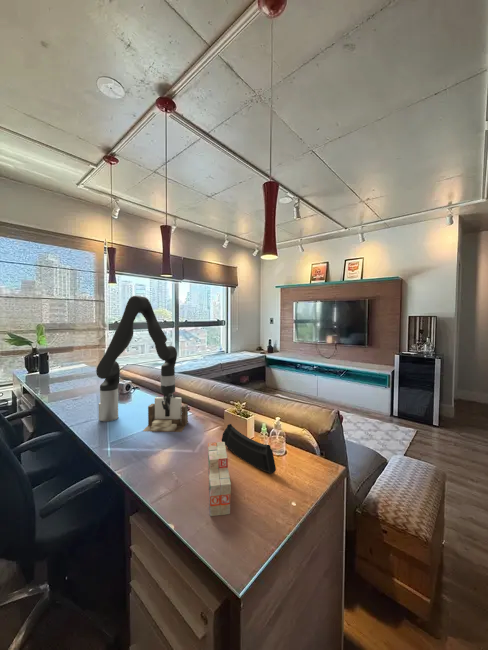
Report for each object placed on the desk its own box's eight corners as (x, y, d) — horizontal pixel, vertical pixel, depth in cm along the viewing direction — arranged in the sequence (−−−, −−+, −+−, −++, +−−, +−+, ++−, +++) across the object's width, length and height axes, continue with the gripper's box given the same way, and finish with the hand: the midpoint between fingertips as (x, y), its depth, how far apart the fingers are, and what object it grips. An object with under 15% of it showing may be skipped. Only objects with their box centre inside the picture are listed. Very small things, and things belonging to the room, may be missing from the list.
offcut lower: (150, 430, 136) (150, 426, 136) (153, 427, 140) (153, 423, 140) (174, 430, 135) (174, 427, 135) (176, 427, 139) (176, 423, 139)
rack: (142, 433, 135) (142, 411, 135) (152, 422, 149) (152, 402, 149) (181, 433, 134) (181, 412, 134) (188, 422, 148) (188, 403, 148)
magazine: (281, 452, 98) (232, 408, 119) (275, 455, 96) (226, 410, 117) (271, 490, 102) (226, 441, 124) (265, 493, 100) (220, 443, 122)
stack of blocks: (230, 514, 79) (230, 474, 79) (209, 517, 78) (209, 476, 78) (224, 473, 101) (224, 441, 100) (208, 474, 100) (207, 442, 99)
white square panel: (154, 424, 144) (154, 398, 144) (156, 422, 146) (156, 397, 146) (180, 424, 143) (180, 398, 143) (181, 423, 145) (181, 397, 145)
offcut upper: (152, 426, 136) (151, 422, 136) (154, 423, 140) (154, 419, 140) (169, 426, 136) (169, 422, 136) (171, 424, 139) (171, 420, 139)
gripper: (165, 380, 151) (165, 410, 152) (156, 386, 137) (156, 420, 138) (178, 380, 151) (178, 411, 151) (170, 386, 137) (171, 420, 137)
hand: (168, 415), depth 145 cm, fingers closed on white square panel, 2 cm apart
